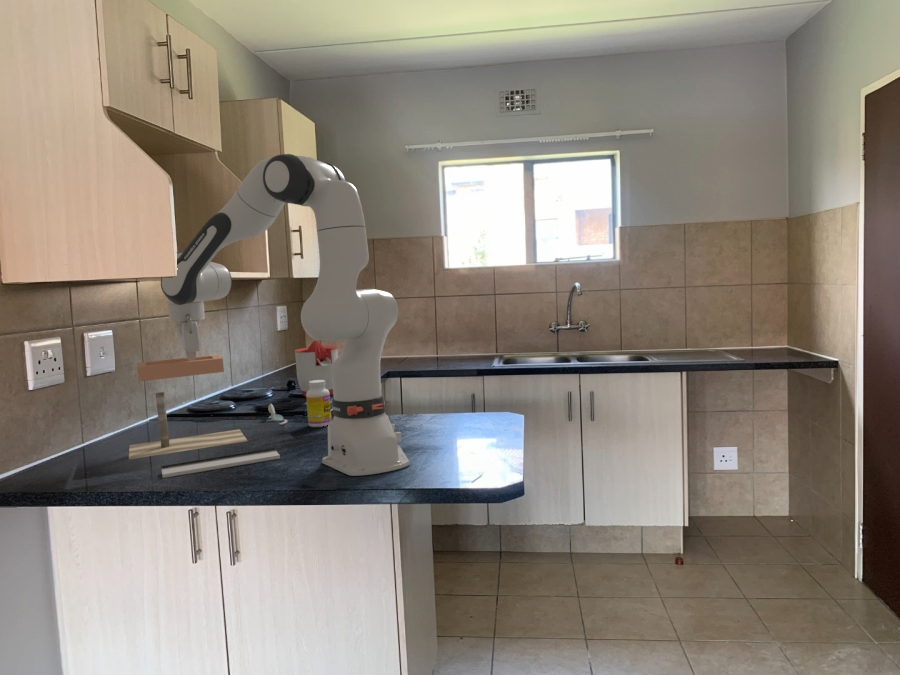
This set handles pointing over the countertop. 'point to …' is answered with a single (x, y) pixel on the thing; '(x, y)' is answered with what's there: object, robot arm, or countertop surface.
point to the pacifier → (275, 416)
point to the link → (179, 367)
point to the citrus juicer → (315, 365)
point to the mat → (219, 462)
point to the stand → (181, 443)
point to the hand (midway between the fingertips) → (192, 366)
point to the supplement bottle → (318, 404)
